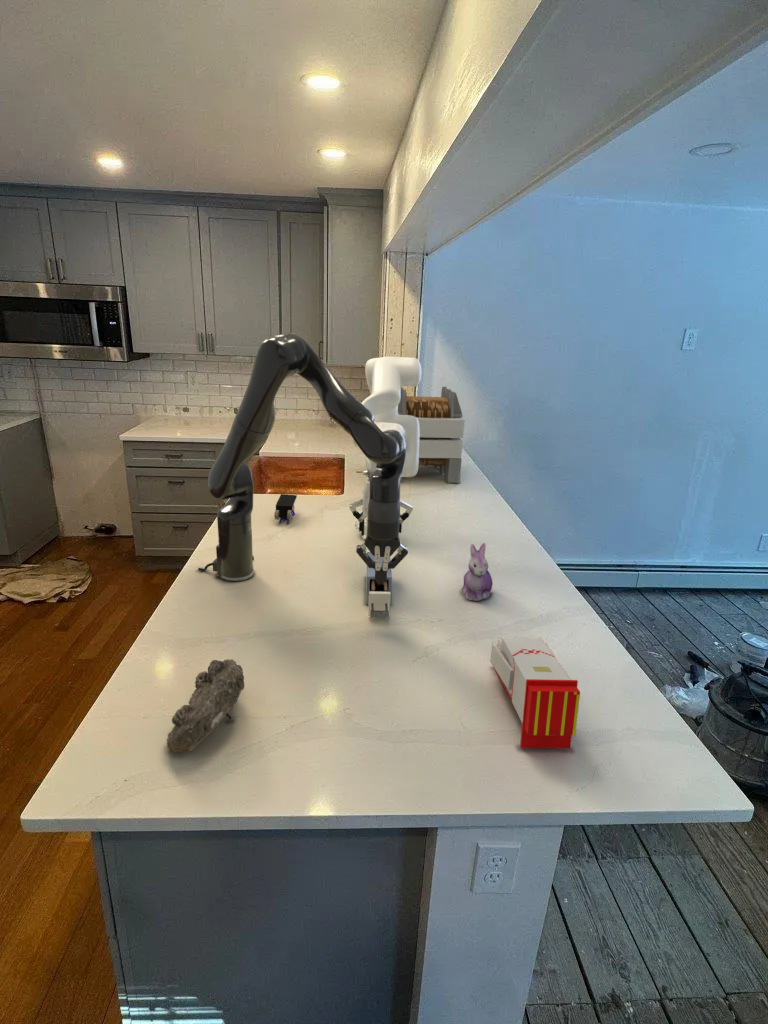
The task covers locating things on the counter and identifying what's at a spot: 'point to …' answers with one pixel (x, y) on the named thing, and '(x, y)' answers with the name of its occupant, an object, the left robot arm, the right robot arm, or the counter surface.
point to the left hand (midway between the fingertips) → (380, 582)
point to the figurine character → (285, 507)
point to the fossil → (206, 705)
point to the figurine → (477, 576)
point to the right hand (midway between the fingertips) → (379, 534)
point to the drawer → (379, 600)
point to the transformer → (437, 430)
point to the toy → (537, 691)
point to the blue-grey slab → (371, 575)
